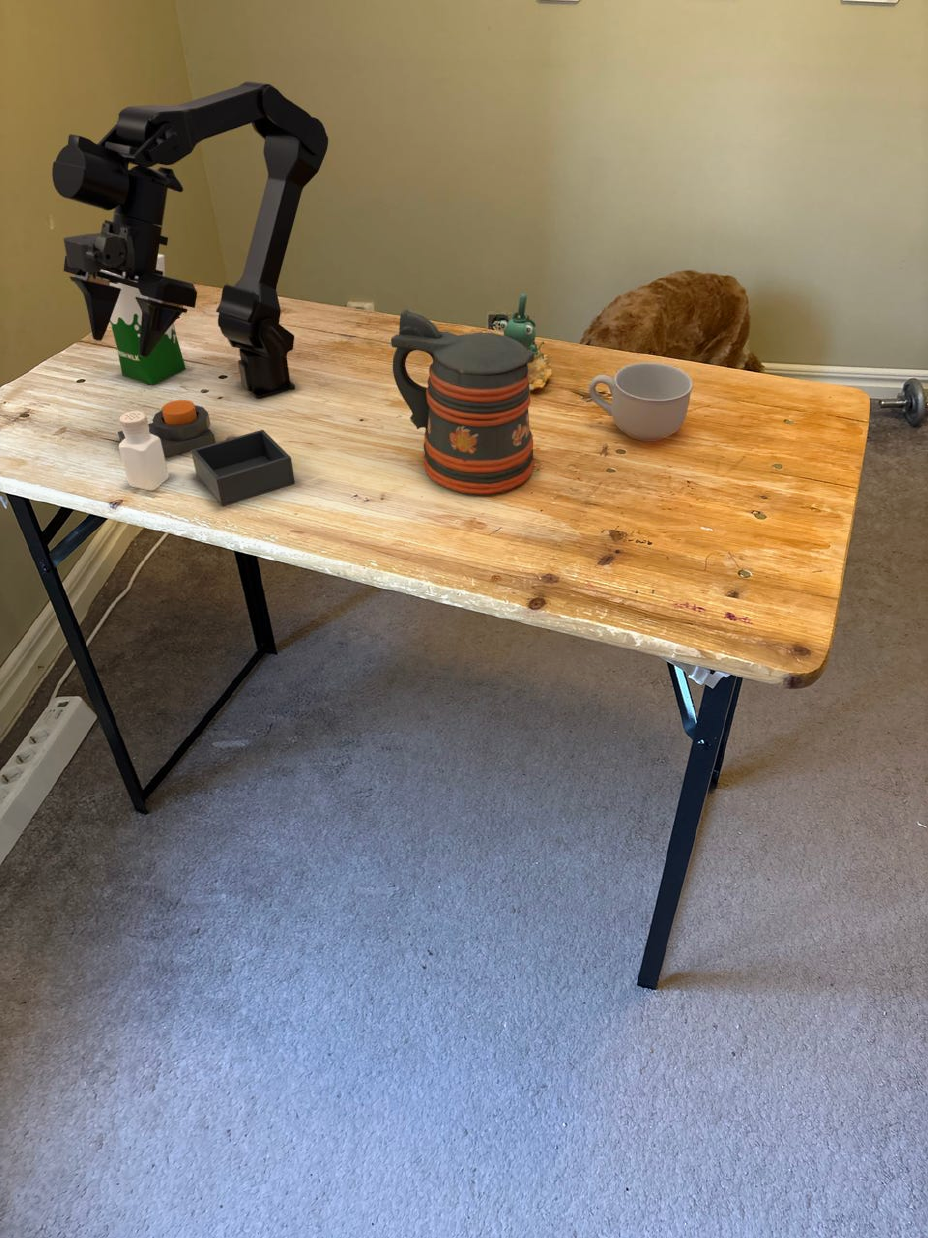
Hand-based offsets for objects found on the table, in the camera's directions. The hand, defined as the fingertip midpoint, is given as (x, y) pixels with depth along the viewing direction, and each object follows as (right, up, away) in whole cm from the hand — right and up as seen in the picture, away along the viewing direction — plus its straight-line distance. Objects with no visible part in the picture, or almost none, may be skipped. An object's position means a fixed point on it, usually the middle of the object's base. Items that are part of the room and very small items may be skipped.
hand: (120, 348), depth 116 cm
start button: (+5, -7, +9) cm, 13 cm away
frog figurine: (+53, +2, +25) cm, 59 cm away
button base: (+3, -10, +10) cm, 15 cm away
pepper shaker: (+3, -17, +2) cm, 18 cm away
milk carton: (-5, +4, +29) cm, 30 cm away
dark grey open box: (+16, -17, +3) cm, 23 cm away
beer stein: (+44, -14, +5) cm, 47 cm away
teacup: (+69, -8, +13) cm, 70 cm away
